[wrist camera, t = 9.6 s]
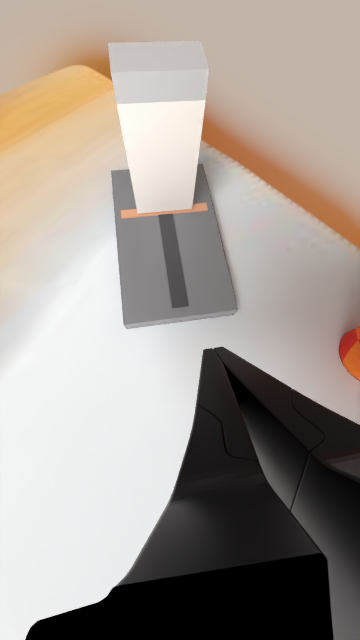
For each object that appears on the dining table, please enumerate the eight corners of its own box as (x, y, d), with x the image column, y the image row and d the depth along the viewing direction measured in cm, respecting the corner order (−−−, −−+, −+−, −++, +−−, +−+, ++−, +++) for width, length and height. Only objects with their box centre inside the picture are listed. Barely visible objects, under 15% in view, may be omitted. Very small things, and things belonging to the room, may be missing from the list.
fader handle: (192, 208, 24) (209, 69, 13) (137, 213, 23) (110, 72, 13) (187, 187, 25) (200, 41, 14) (135, 192, 24) (108, 42, 14)
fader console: (233, 314, 22) (238, 309, 21) (126, 328, 21) (123, 324, 20) (200, 175, 28) (202, 162, 26) (114, 182, 27) (110, 169, 25)
